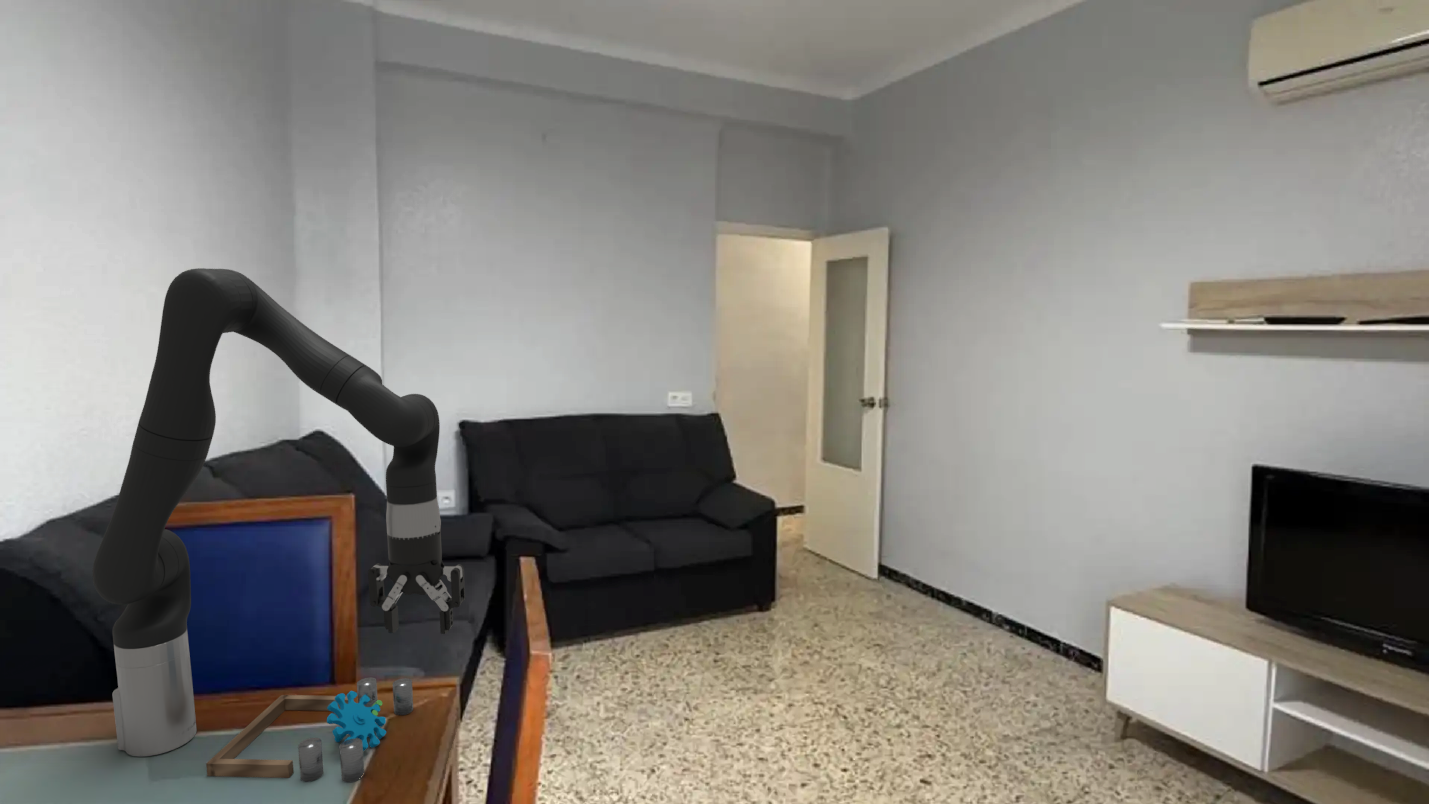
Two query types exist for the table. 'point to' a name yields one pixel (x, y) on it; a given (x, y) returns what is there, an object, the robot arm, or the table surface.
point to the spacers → (353, 747)
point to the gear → (356, 719)
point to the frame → (225, 757)
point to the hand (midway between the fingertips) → (419, 631)
